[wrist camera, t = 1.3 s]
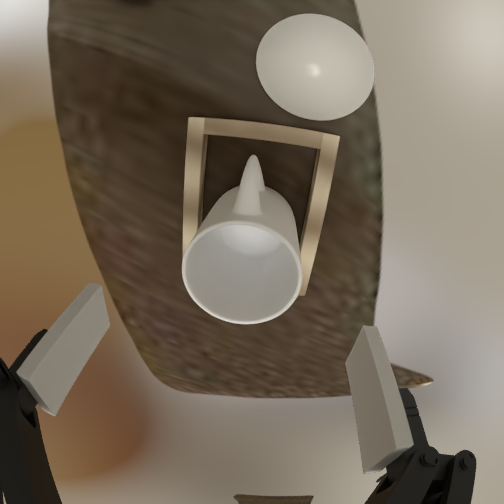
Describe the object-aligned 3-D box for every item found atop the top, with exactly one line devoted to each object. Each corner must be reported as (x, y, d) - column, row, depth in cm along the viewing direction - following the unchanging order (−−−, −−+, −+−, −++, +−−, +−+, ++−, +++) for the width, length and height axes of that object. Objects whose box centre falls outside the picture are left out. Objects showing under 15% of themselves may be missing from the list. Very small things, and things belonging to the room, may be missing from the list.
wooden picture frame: (194, 116, 25) (188, 117, 23) (335, 134, 24) (339, 136, 23) (187, 268, 33) (182, 278, 31) (303, 285, 32) (304, 295, 31)
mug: (303, 152, 26) (319, 175, 16) (289, 262, 31) (292, 329, 22) (213, 145, 26) (177, 164, 16) (211, 254, 31) (185, 317, 22)
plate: (263, 9, 19) (263, 6, 18) (376, 31, 19) (379, 29, 18) (250, 111, 24) (249, 110, 23) (364, 131, 24) (366, 131, 23)
